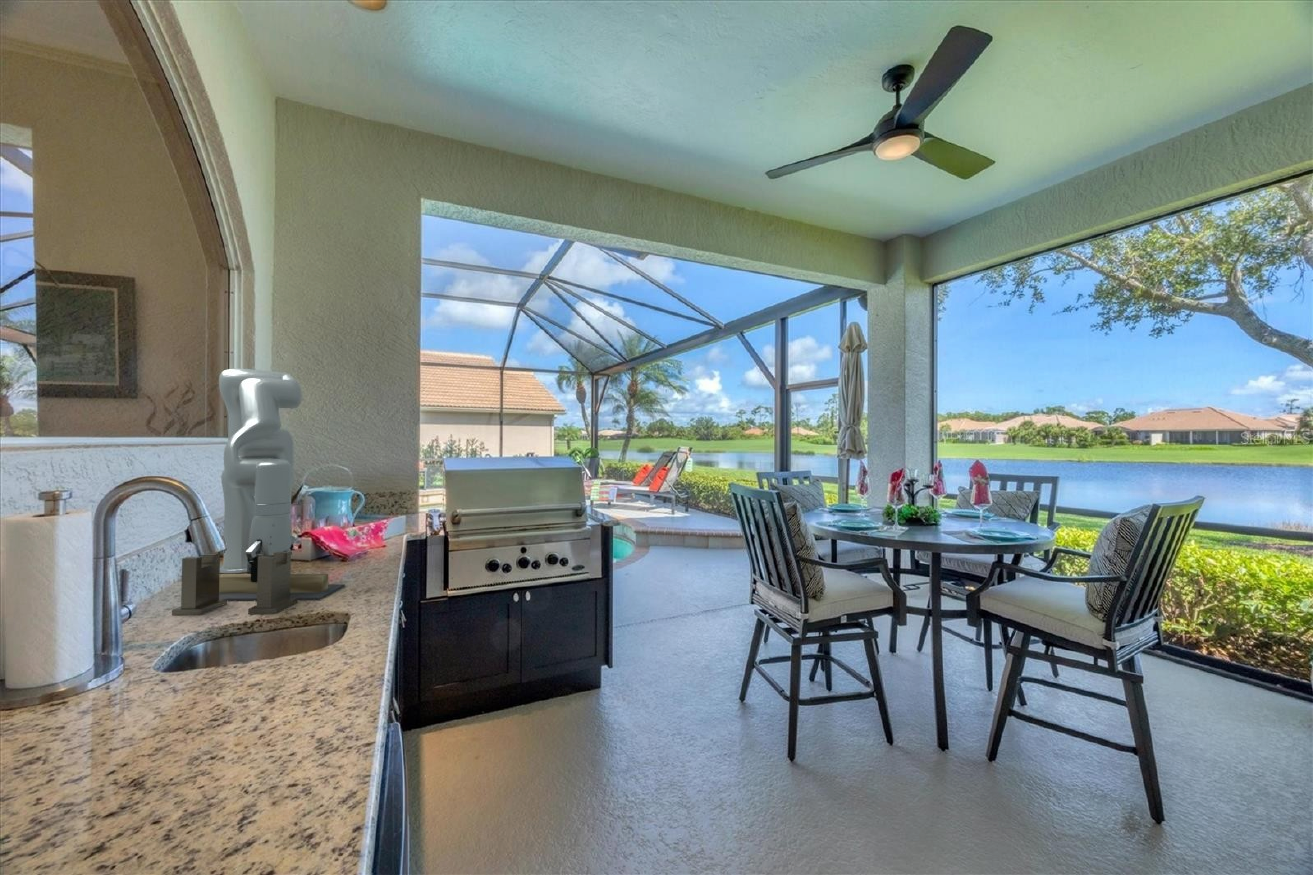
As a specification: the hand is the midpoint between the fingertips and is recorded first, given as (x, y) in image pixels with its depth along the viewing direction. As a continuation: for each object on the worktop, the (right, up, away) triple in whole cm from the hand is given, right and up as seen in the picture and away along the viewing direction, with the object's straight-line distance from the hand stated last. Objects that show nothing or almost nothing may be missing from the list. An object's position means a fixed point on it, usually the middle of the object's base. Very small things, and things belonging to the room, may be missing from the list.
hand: (271, 576), depth 133 cm
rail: (0, -4, 0) cm, 4 cm away
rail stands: (+1, -4, -12) cm, 13 cm away
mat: (0, -4, 0) cm, 4 cm away
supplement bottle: (-10, -4, +9) cm, 14 cm away
